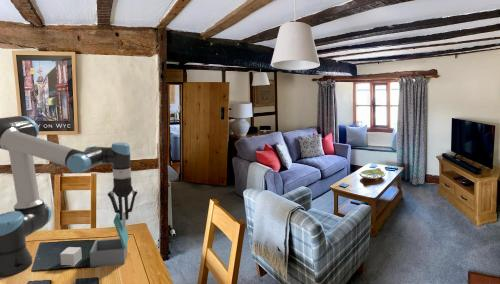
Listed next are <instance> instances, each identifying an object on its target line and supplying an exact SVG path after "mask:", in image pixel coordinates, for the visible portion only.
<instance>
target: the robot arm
mask: <svg viewBox="0 0 500 284" xmlns="http://www.w3.org/2000/svg"><path fill="white" fill-rule="evenodd" d="M39 129H40V128H39V126H38V124H37V122H36V121H35V120H34V119H32V118H31V117H29V116H25V115H24V116H23V115H16V116H7V117H0V149H1V150H4V151H8V156H9V161H10V167H11V172H12V173H11V174H12V178H13V179H12V180H13V185H14V191H15V196H16V203H15V204H14V205H13V209H14V210H12V211H7V212H5V213H1V214H0V278H2V277H9V276H12V275H16V274H19V273H22V272H23V271H25V270H27V269H29V268H30V267H31V266H32V265H33V257H32V256H33V255H31V252H30V251H29V249H28V248H27V241H26V237H29V236H30V235H31V234H34V233H35V232H37V231H38V230H41V229H43V227H45V226H46V225H47V224H48V223H49V222H50V221H51V218H52V211H51V210H52V209H51V208H50V206H48V204H47V203H45V201H44V199H43V198H40V193H39V186H38V181H37V176H36V174H37V173H36V167H35V161H34V160H35V159H34V157H36V158H39V159H43V160H45V161H49V162H52V163H54V164H58V165H59V164H60V165H62V166H65V167H67V169H68V170H69V171H70V172H71V173H74V174H79V173H84V172H86V171H88V170H90V169H92V168H94V167H97V166H99V165H112V176H113V178H112V180H113V181H112V182H113V188H112V190H111V191H108V193H107V196H108V197H109V199H110V202H111V204H112V207H113V211H114V213H115V214H117V213H119V215H120V220H122V226H123V228H125V227H126V228H127V221H128V220H129V218H130V217H129V216H130V215H129V213H131V212H133V209H134V208H133V207H134V204H135V199H136V196H137V195H138V194H139V192H138V190H137V189H134V188H133V186H132V167H131V147H130V144H129V143H128V142H123V141H122V142H114V143H112V144H111V146H110V147H109V146H88V147H86V148H85V149H84V151H82V150H79V149H75V148H73V147H72V148H71V147H70V146H66V145H63V144H60V143H56V142H53V141H49V140H46V139H44V138H41V137H38V135H39V132H40V130H39ZM130 194H131V195H132V196H131V201H130V204H129V196H130ZM114 195H115V196H116V197H117V199H118V204H117V202H116V198H115V196H114ZM123 198H124V199H123ZM123 200H124V207H123ZM129 205H130V206H129ZM123 209H124V210H123Z"/></svg>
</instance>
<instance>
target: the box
mask: <svg viewBox="0 0 500 284" xmlns="http://www.w3.org/2000/svg"><path fill="white" fill-rule="evenodd" d="M127 253H128V245H127V246H126V249H123V246H122V243H121V241H120V238H119V237H118V238H116V237H115V238H108V239H105V238H104V239H95V240H94V242H93V245H92V247H91V249H90V250H89V264H90V268H98V267H108V266H117V265H119V266H120V265H124V264H125V262H126V259H127Z"/></svg>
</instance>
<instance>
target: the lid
mask: <svg viewBox="0 0 500 284" xmlns="http://www.w3.org/2000/svg"><path fill="white" fill-rule="evenodd" d="M113 224H114V227H115V229H116V232H117V235H118V238H120V241H121V243H122V246H123V249H126V246H127V247H128V241H129V238H130V235H129V232H128V229H127V226H126V227H125V228H123V226H122V220H120V215H119V213H115V217H114V219H113Z"/></svg>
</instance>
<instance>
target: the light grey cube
mask: <svg viewBox="0 0 500 284" xmlns="http://www.w3.org/2000/svg"><path fill="white" fill-rule="evenodd" d="M82 256H83V255H82V247H80V246H78V247H75V246H74V247H73V246H68V247H66V248H65V249H64V250H63V251H62V252H61V253H59V257H60V266H61V265H71V266H70V267H75V265H76V264H77V263H78V262H79V261H80V260H81V259H82V260H83V257H82ZM82 260H81V261H82ZM81 261H80V262H81ZM80 262H79V263H80ZM79 263H78V264H79ZM78 264H77V265H78ZM77 265H76V266H77Z"/></svg>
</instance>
